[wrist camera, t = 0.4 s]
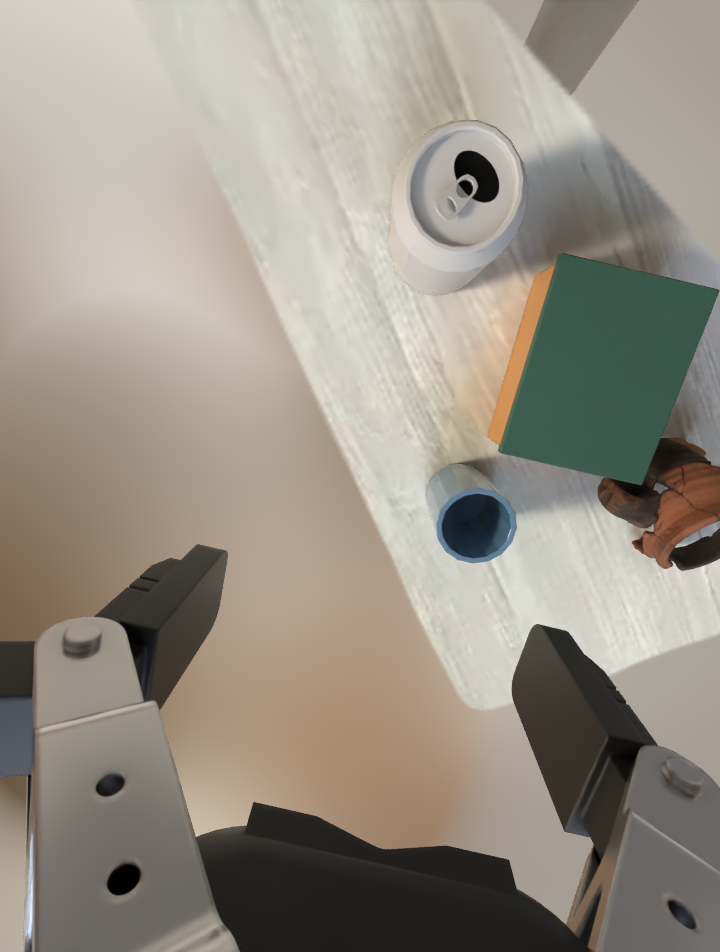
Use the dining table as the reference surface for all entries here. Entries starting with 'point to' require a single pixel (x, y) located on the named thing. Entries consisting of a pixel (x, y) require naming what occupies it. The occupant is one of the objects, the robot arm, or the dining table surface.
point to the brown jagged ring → (671, 505)
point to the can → (455, 205)
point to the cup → (469, 514)
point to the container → (598, 367)
